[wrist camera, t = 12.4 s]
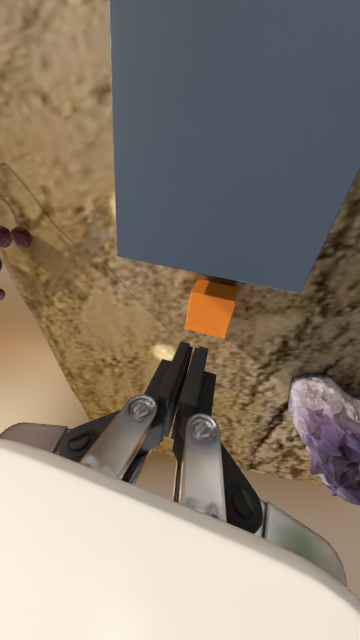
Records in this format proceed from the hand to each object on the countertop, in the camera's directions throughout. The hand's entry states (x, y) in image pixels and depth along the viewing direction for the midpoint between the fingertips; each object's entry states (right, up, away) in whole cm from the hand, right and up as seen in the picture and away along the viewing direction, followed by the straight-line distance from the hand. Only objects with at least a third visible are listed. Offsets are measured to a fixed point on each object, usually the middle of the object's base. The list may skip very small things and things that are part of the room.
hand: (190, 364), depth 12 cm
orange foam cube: (+3, +5, +12) cm, 14 cm away
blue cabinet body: (+4, +16, +6) cm, 18 cm away
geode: (+22, -12, +16) cm, 30 cm away
